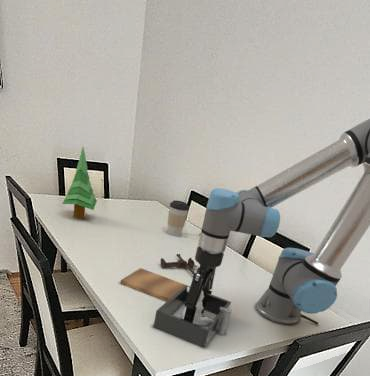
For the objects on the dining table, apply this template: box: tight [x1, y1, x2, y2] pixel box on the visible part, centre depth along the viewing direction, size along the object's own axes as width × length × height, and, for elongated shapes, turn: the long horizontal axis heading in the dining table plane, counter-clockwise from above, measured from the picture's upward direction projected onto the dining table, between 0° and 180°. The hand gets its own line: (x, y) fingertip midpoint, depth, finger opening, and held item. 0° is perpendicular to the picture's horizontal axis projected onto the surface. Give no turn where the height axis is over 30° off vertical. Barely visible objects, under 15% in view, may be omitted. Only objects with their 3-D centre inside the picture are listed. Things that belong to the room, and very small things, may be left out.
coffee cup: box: [166, 199, 190, 237], centre depth 179 cm, size 9×9×15 cm
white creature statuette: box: [180, 287, 213, 327], centre depth 113 cm, size 10×9×12 cm
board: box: [120, 267, 186, 302], centre depth 131 cm, size 20×14×1 cm
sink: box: [153, 284, 232, 348], centre depth 114 cm, size 18×22×8 cm
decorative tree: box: [62, 147, 98, 220], centre depth 167 cm, size 14×16×30 cm
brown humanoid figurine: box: [160, 253, 198, 275], centre depth 149 cm, size 18×4×14 cm
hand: (193, 318), depth 116 cm, fingers open, 9 cm apart
